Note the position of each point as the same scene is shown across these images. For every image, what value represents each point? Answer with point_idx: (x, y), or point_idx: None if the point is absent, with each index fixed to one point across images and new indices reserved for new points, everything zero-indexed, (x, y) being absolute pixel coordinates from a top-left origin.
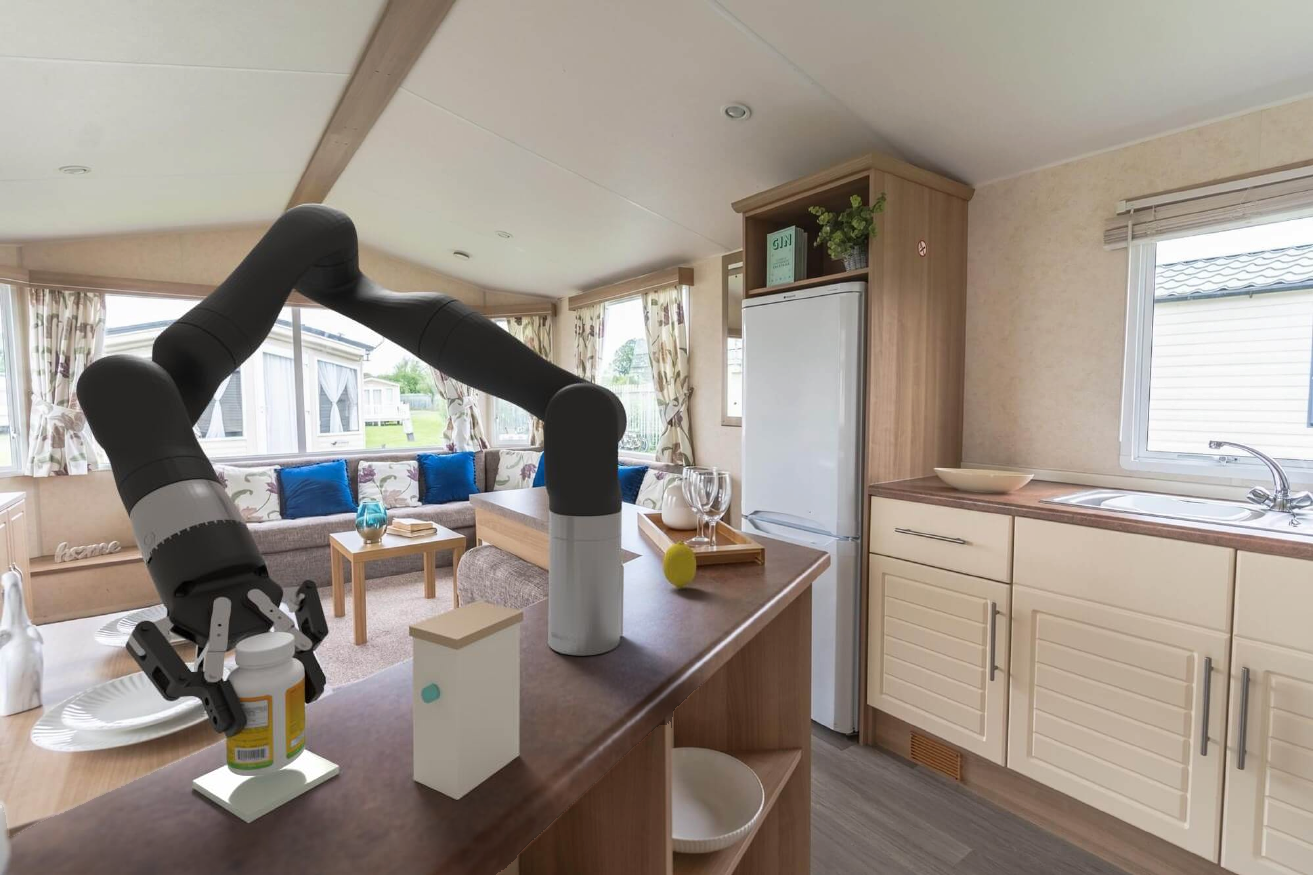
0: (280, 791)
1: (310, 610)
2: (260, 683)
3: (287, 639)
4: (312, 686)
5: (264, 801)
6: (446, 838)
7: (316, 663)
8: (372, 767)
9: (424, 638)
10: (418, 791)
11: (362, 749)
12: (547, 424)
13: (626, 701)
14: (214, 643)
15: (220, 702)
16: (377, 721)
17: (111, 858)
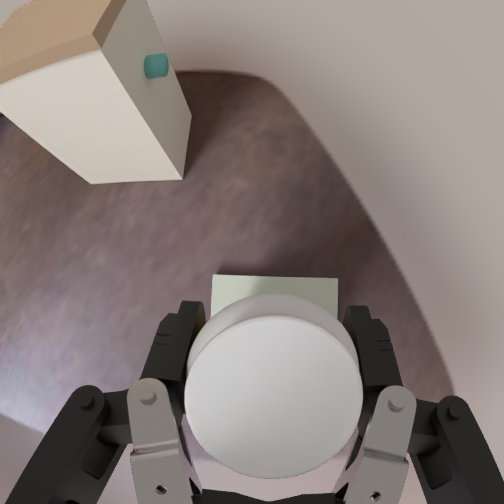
0: (289, 291)
1: (63, 466)
2: (326, 317)
3: (226, 350)
4: (199, 314)
5: (312, 289)
6: (241, 88)
7: (153, 354)
8: (184, 247)
9: (115, 14)
10: (197, 158)
11: (161, 298)
12: None
13: (9, 122)
14: (393, 472)
15: (383, 356)
16: (105, 341)
17: (430, 347)
